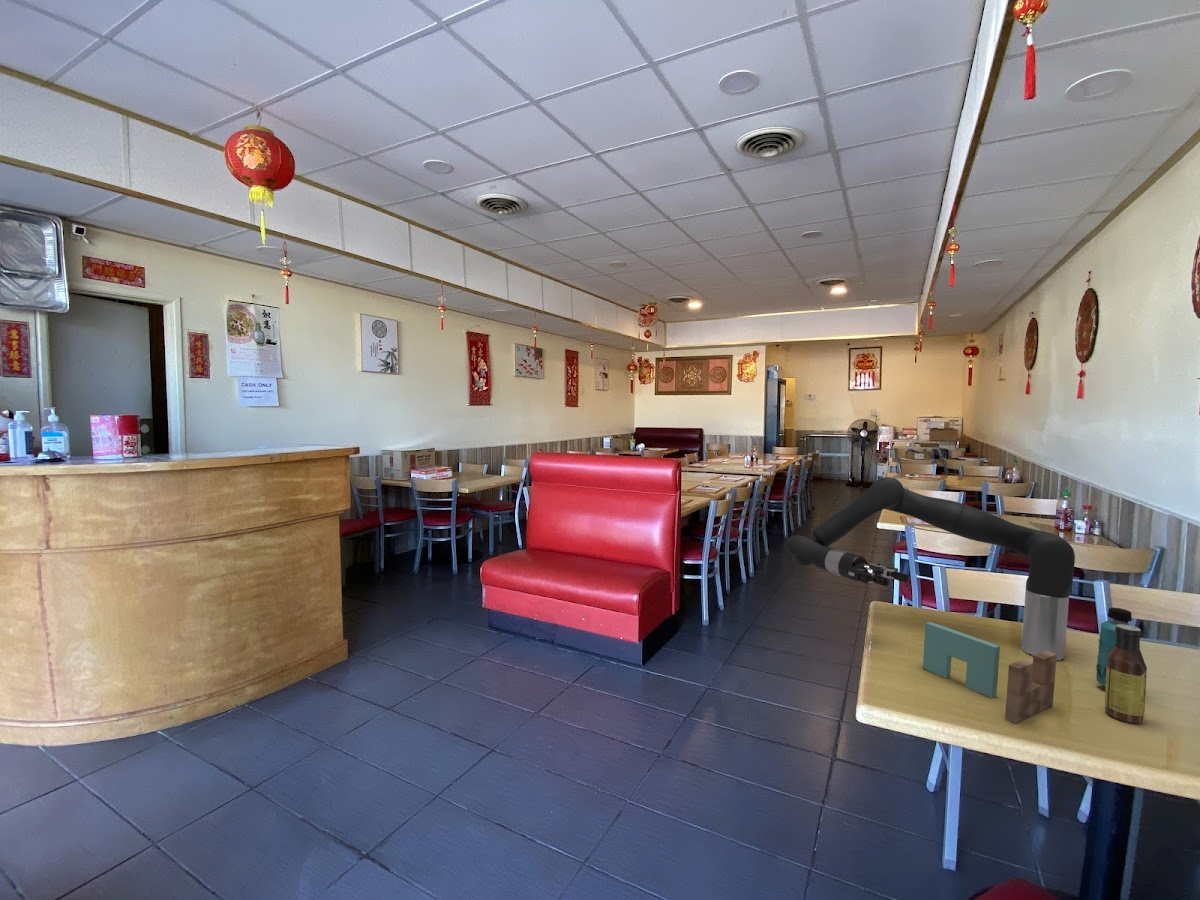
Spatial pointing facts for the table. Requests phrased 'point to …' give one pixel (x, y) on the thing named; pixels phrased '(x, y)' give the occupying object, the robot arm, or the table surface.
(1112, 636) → the teal bottle
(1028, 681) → the walnut slotted plate
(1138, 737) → the table surface
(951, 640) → the teal slotted plate
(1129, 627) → the sauce bottle
